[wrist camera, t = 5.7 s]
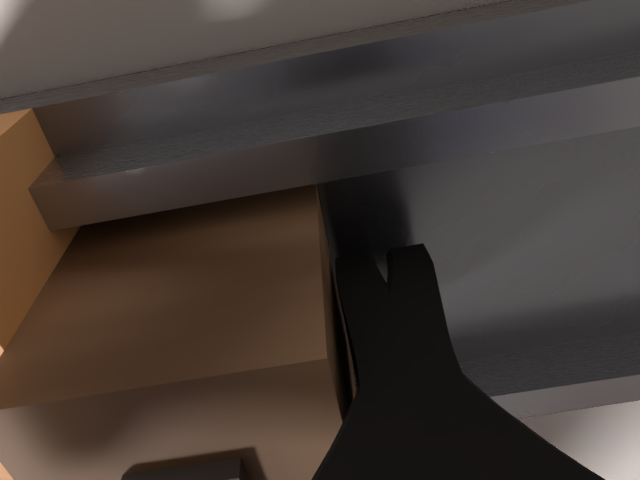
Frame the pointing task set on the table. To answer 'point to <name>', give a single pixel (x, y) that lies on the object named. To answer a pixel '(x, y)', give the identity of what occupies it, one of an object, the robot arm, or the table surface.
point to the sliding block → (183, 349)
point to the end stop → (23, 224)
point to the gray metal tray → (412, 171)
